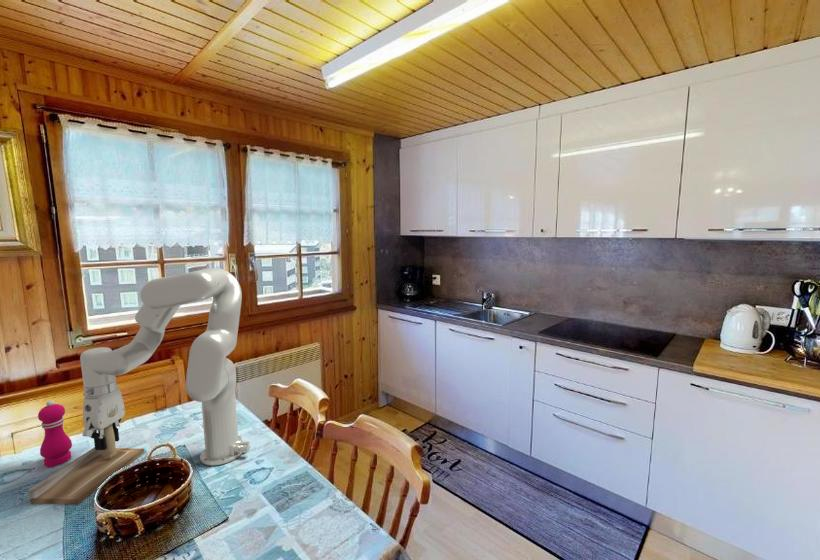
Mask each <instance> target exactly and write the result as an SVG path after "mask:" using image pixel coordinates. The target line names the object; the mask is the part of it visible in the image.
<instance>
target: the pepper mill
mask: <svg viewBox="0 0 820 560" xmlns="http://www.w3.org/2000/svg"><path fill="white" fill-rule="evenodd" d="M45 405H46V406H44V407H42V408H41V409H40V410H39V412H38V413H37V418H38V420H39V421H40V422H41V428H42V429H43V430H44V437H43V441H42V443H41V445H40V449H39V455H40V456H41V457H42V458H44V459H43V466H44V467H45V466H46V467H45V468H52V467H53V468H54V467H57V466H61V465H62V464H65V463H66V462H69V461H70V460H71V458H72V452H71V449H72V447H73V443H72V439H71V438H70V437H69V435H67V434H66V432H65V430H64V427H63V425H64V423H65V418H64V415H65V413H66V408H65V407H64V406H63V405H62V404H58V403H55V401H54V400H53V399H51V400H47V402H46V404H45Z"/></svg>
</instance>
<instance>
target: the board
mask: <svg viewBox="0 0 820 560" xmlns="http://www.w3.org/2000/svg"><path fill="white" fill-rule="evenodd" d="M143 454H145V449H144V448H137V447H136V448H131V447H130V448H127V447H126V448H125V447H124V448H123V447H117V448H116V447H115V456H114V457H112V458H111V459H107V460H103V458H102V455H101V452H100V450H95V446H94V447H93V448H91V449H90V450H89V449H88V450H87V451H86V452H85V453H83V454H82V455H80V456H78V457H77V458H75V459H74V460H72V461H71V462H70V463H68V464H66V465H65V466H63V467H61V468H60V469H58V470H56V471H55V472H54V473H52V474H50V475H49V476H47V477H46V478H45V479H43V480H41V481H40V482H38V483H37V484H35V485H33V486H32V487H30V488H29V489H28V494H29V500H30V504H38V505H39V504H40V505H45V504H46V505H79V504H81V503H82V502H83V501H85V500H86V499H88V498H89V497H90V496H91V495H92V494H94V493H95V492H97V490H98V489H97V488H98V487H99V486H100V485H101V484H102V483H103V482H104V481H105V480H106V479H107V478H108V477H109V476H111V475H112V474H113V473H114V472H116V471H118V470H120V469H121V468H123V467H125V466H127V465H128V466H130V465H131V464H132V463H134V461H136V460H137V459H138V458H140V457H141V456H142V455H143ZM129 464H130V465H129ZM128 466H127V467H128ZM84 499H85V500H84ZM80 502H81V503H80Z"/></svg>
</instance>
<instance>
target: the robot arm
mask: <svg viewBox="0 0 820 560" xmlns="http://www.w3.org/2000/svg"><path fill="white" fill-rule="evenodd" d="M139 295H140V297H139V298H140V300H141V302H142V305H141V306H140V308H139V309H138V311H137V312H136V313H135V315H134V319H135V322H136V324H138V326H140V327H139V330H138V332H136V335H135V336H134V337H133V339H132V340H131V341H130V343H128V344H125V345H123V346H121V347H119V348H115V349H113V350H112V348H110V347H107V346H102V347H101V346H100V347H94V348H90V349H87V350H84V351H82V352H81V353H80V357H79V360H80V368H81V369H80V370H81V374H82V382H83V392H82V396H83V397H84V398H83V403H82V417H83V418H82V419H83V421H82V422H83V426H84V430H83V432H82V436H83V437H89V438H91V439H93V442H94V447H95V450H105V449H107V445H106V437H103V435H104V428H106V427H108V426H109V425H111V424H112V426H113V431H114V436H115V442H119V441H120V433H119V428H120V426H121V425H120V423H121V422H122V419H123V418H124V416H125V413H126V409H125V404H124V399H123V395H122V391H121V390H120V388H119V387H118V386H117V385H118V384H117V379H116V376H122V375H125V374H127V373H128V372H131V371H132V370H134V369H135V368H138V367H139V366H141V365H142V364H144V363H146V362H147V361H149V359H150V358H151V357H152V356H153V355H154V354H155V351H156V350H157V348H158V347H159V346H160V344H161V343H162V341H163V339H164V336H165V332H166V328H167V326H168V325H169V323H170V321H171V320H172V318H173V317H174V316H175V314H176V313H177V311H178V310H179V308H181V306H182V305H187V304H192V303H196V302H200V301H201V302H202V301H204V300H205V301H206V300H208V299H210V298H212V303H211V306H210V309H209V313H208V320H207V321H208V322H207V327H206V330H205V331H204V332H203V333H201V334H200V335H198V337H196V338H195V339H194V340H193V342H192V344H191V346H190V349H189V354H188V360H187V361H188V362H187V370H186V376H185V377H186V378H185V390H186V393H187V395H188V396H189V398H190V399H192V400H193V401H195V402H198V403H201V412H202V413H201V414H202V425H203V427H202V428H203V438H204V448H205V449H204V450H202V452H200V455H199V460H200V462H201V463H202V464H203V465H205V466H220V465H224V464H227V463H229V462H233V461H235V460H236V459H238V458H239V457H240V456H241V455H242V454H243V452H249V451H250V448H251V446H250V441H248V440H247V441H246V440H245V441H243V440H242V436H241V435H239V431H238V429H239V428H238V418H237V402H236V400H237V399H236V384H237V370H236V365H235V364H234V363H233V361H232V360H230V359H229V358H227V356H229V355H230V354H231V353H232V352H233V351H234V350H235V349H236V346H237V344H238V343H237V342H238V332H239V326H240V325H239V324H240V315H241V307H242V299H243V297H242V296H243V293H242V287H241V285H240V282H239V281H238V279H237V278H236V277H235V276H234V275H233V274H232V273H230V272H229V271H227V270H226V269H223V268H220V267H208V268H204V269H203V268H202V269H200V270H199V269H198V270H194V271H190V272H189V271H188V272H186V273H181V274H175V275H171V276H163V277H159V278H154V279H151V280H149V281H148V282H145V284H144V285H143V286H142V288H141V290H140V293H139ZM115 410H116V414H115V415H114V416H113V417H110V418H109V417H108V416H109V413H111V412H113V411H115ZM98 430H99V433H98Z"/></svg>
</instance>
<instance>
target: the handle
mask: <svg viewBox="0 0 820 560" xmlns="http://www.w3.org/2000/svg"><path fill="white" fill-rule="evenodd" d="M115 414H116V410H115V411H113V412H111V413H109V416H108V417H109V418H110V417H113V416H114V415H115ZM97 433H99V430H97ZM103 437H106V445H107V449H105V450H100V452H101V455H102V458H103V460H107V459H111V458H112V457H114V456H115V448H116V441H115V436H114V431H113V426H112V424H111V425H109V426H108V427H106V428H104V435H103Z"/></svg>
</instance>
